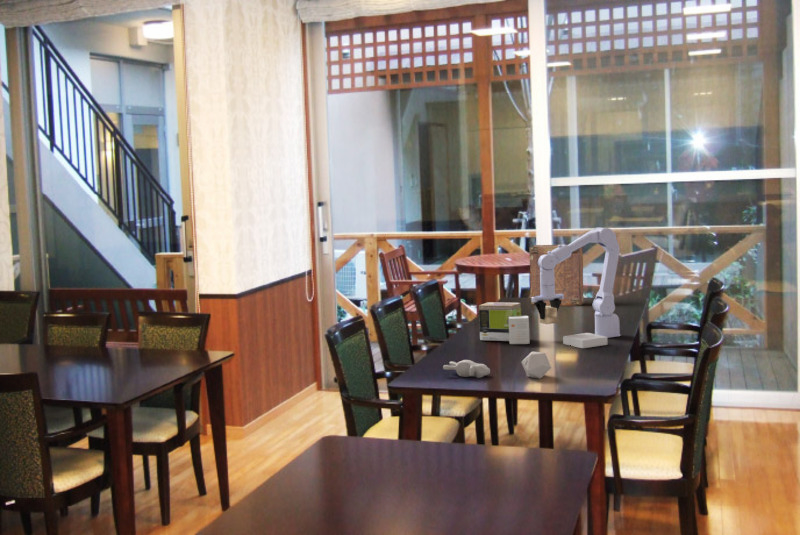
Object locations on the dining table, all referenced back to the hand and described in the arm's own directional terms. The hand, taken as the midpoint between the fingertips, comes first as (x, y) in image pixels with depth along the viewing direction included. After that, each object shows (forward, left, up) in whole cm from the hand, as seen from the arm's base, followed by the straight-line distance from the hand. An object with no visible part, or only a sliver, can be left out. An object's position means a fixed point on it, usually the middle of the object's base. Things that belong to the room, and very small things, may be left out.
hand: (548, 318), depth 355 cm
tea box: (+14, -14, -9) cm, 21 cm away
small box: (+13, -3, -9) cm, 16 cm away
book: (-61, -76, -9) cm, 98 cm away
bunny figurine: (+59, +34, -9) cm, 69 cm away
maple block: (0, 0, -2) cm, 2 cm away
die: (+41, +50, -9) cm, 65 cm away
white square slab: (-6, +16, -9) cm, 19 cm away
